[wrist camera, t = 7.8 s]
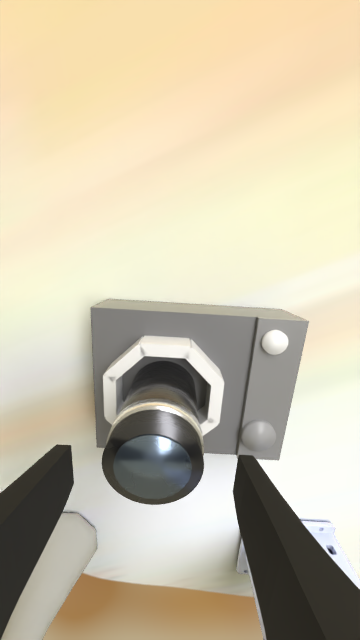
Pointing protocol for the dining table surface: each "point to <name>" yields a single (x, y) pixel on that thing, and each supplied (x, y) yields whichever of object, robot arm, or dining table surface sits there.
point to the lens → (156, 437)
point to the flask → (52, 578)
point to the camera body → (204, 366)
